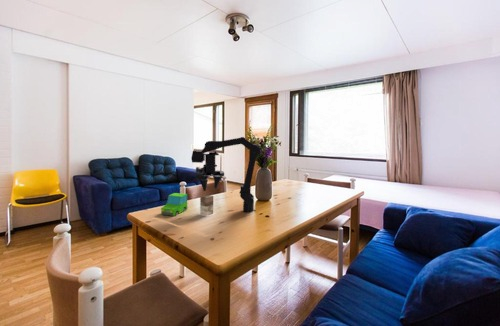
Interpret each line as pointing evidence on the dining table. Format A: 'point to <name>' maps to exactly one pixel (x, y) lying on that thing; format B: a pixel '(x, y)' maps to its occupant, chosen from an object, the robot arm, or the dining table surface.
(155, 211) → the dining table surface
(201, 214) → the board
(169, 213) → the toy car
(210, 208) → the beech block
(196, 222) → the dining table surface
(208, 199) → the walnut block
